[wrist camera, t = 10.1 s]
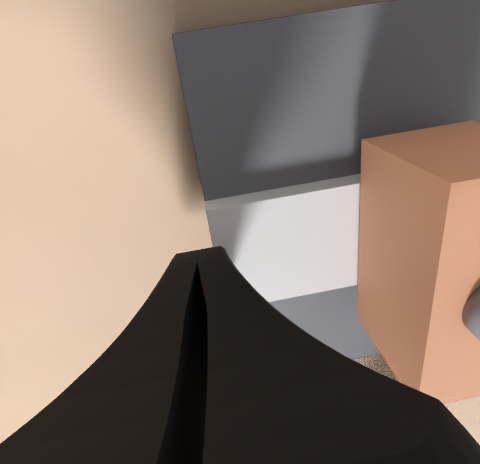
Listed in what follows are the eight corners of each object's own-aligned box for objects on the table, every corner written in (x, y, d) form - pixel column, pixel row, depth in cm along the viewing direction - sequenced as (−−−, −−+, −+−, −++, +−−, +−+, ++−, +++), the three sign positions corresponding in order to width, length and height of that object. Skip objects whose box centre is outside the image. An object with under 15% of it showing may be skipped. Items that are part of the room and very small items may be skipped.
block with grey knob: (471, 120, 9) (641, 160, 6) (441, 299, 12) (543, 398, 9) (361, 139, 9) (467, 191, 6) (357, 316, 12) (426, 424, 8)
